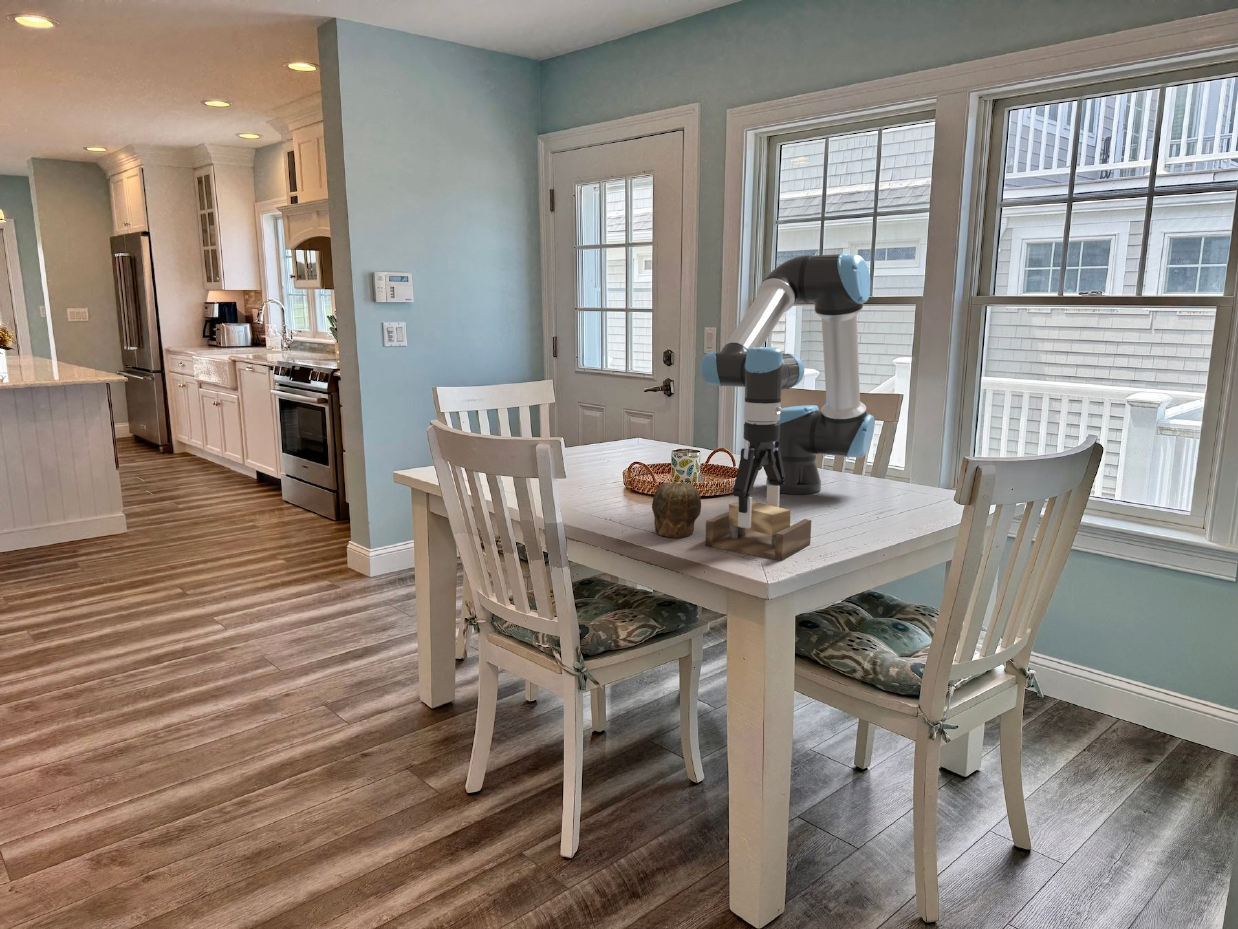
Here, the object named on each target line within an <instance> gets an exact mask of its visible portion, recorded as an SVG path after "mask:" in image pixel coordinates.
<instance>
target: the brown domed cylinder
mask: <svg viewBox="0 0 1238 929" xmlns="http://www.w3.org/2000/svg"><path fill="white" fill-rule="evenodd" d="M701 500H702V499H701V494H700V492H699V490H698V489H697V488H696V487H695V486H694V485H692V484H690V483H685V482H680V483H678V482H676V481H672V482H665V483H661V485H659V486H658V488H657V489H656V490H655V493H654V495H653V498H652V503H651V509H652V512H653V515H654V516H653V517H654V520H653V522H654V529H655V532H656V533H657V535H659V536H662V537H667V538H675V539H680V538H688V537H690V536H692V535H693V533H694V530H695V524H696V523H695V522H696V520H697V519H698V517H699V516H700V515H701V512H702V501H701Z"/></svg>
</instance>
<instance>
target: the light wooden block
mask: <svg viewBox="0 0 1238 929" xmlns="http://www.w3.org/2000/svg"><path fill="white" fill-rule="evenodd" d="M738 502H739V501H737V502H733V503H728V512H729V524H730V525H733V526H737V527H739V526H738ZM791 512H792V510H791V509H787V508H783V507H780V506H779V507H775V506H771V505H767V504H766V503H762V502H759V501H758V502H757V501H753V500H752V513H751V528H745V527H741V528H745V529H748V530H752V531H756V532H759V533H763V534H767V535H770V536H773V535H776V533H778V532H780V531H782V530H784V529H786V528H788V527H790V526H791V514H792V513H791Z"/></svg>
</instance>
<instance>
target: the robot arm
mask: <svg viewBox="0 0 1238 929" xmlns="http://www.w3.org/2000/svg"><path fill="white" fill-rule="evenodd" d="M870 274H871V273H870V270H869V267H868V264H867V262H866V261H865V260H864V258H863V257H862V256H861V255H858V254H846V253H841V254H840V253H839V254H838V253H837V254H820V255H819V254H818V255H800V256H795V257H792V258H790V259H788V260H786V261H784V262H783V263H781V264H780V265H778V266H776V268H774V269H773V270H772V271H770V272H769V273H768V275H766V277H765V278H764V279H763V280H762V282H761V283H760V285H759V286H758V290H757V296H756V298H755V300H754V301H753V303H752V304H751V306H750V307H749V308H748V310H747V311H746V313H745V314H744V316H743V317H742V319H741V321H740V322H739V323H738V324H737V326H736V328H735V330H734V331H733V333H732V334H731V335H730V337H729V339H728V340H727V341H726V343H725V345H724V346H723V347H722V349H721V350H720V351H719V352H718V351H717V350H715V351H711V352H709V351H708V352H707V353H705V354H704V356H703V358H702V361H701V365H700V372H701V376H702V380H703V382H705V384H707V385H713V386H719V387H733V388H735V387H737V388H738V387H740V388H744V408H743V419H744V421H745V422H744V424H743V439H744V441H746V442H747V441H748V442H749V445H748V448H745V447H743V448H741V450H740V458H739V459H740V460H739V464H738V468H737V472H736V475H735V476H736V477H735V480H734V485H733V489H732V495H733V496H734V497H738V501H737V502H738V526H739V527H745V528H751V513H752V501H753V497H751V493H752V491H753V488H754V485H755V483H756V479H757V476H758V473H759V472H760V471H761V470H762V468H763V471H764V472H765V475H766V479H765V480H766V481H765V488H766V503H765V504H767V505H771V506H775V507H780V494H787V495H788V494H789V495H805V494H814V493H818V492H820V491H821V489H822V480H821V479H822V478H821V477H820V474H819V472H820V471H819V469H818V465H817V455H824V456H831V457H832V456H834V457H842V458H843V457H845V458H847V459H849V458H859V459H860V458H863V457H864V456H866V455H867V453H868V452H869V449H870V448H871V447H870V446H871V444H872V442H873V437H874V432H875V426H876V423H875V417H874V416H873V415H871V414H870V413H868V414H867V406H866V405H865V404H864V403H863V402H862V401H861V393H860V391H861V390H860V370H859V369H860V364H859V363H860V362H859V343H858V342H859V341H858V316H857V315H858V314H859V313H860V312H861V311H862V310H863V307H864V303H867V302H868V300H869V298H870V296H871V295H870V294H871V275H870ZM796 304H814V312H815V314H816V315H817V316H819V317H820V318H821V332H822V334H821V335H822V346H823V347H822V348H823V350H822V351H823V367H824V382H825V383H824V385H825V386H824V387H825V400H826V402H825V404H824V405H823V406H822V407H821V409H820V411H819V406H818V405H815V404H814V405H811V404H807V405H794V406H789V407H783V408H782V407H781V405H782V403H781V401H782V390H785V389H786V390H790V388H791V389H793V387H795V386H797V385H798V384H800V382H802V380H803V378H804V376H805V366H804V362H803V361H802V360H801V358H800V357H799V356H797V355H795V354H792V353H785V352H784V353H783V351H782V349H780V348H779V347H765V346H764V344H765V343H766V341H767V339H768V338H769V336H770V335H771V334H772V331H773V330H774V329H775V327H776V325H777V324H778V322H779V321H780V319H781V318H782V316H783V314H784V313H785V312H788V311H789V310H790V309H792V308H793V306H794V305H796Z"/></svg>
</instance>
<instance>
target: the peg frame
mask: <svg viewBox="0 0 1238 929" xmlns="http://www.w3.org/2000/svg"><path fill="white" fill-rule="evenodd" d="M811 533H812V519H806V518H803V519H801V520H799V521H797V522H796V523H794V524H792V525H790V527H788V528H786V529H784V530H782V531H780V532H778V533H776V535H773V536H770V535H767V534H763V533H759V532H756V531H752V530H748V529H745V528H741V527H737V526H733V525H730V524H729V511H727V512H724V513H722V514H720V515H717V516H714V517H712V518H709V519H708V520H706V521H705V546H706V547H711V548H714V549H715V548H717V549H720V550H721V549H722V550H726V551H731V552H735V553H736V552H737V553H740V554H741V553H742V554H745V555H751V556H756V557H761V558H768V559H771V560H777V561H781V562H782V561H785V560H786V559H788V558H790V557H792V556H793V555H795V554H797V553H799V552H800V551H801V550H804V549H805V548H806V547H808V546H810V545H811V538H812V537H811Z"/></svg>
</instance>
